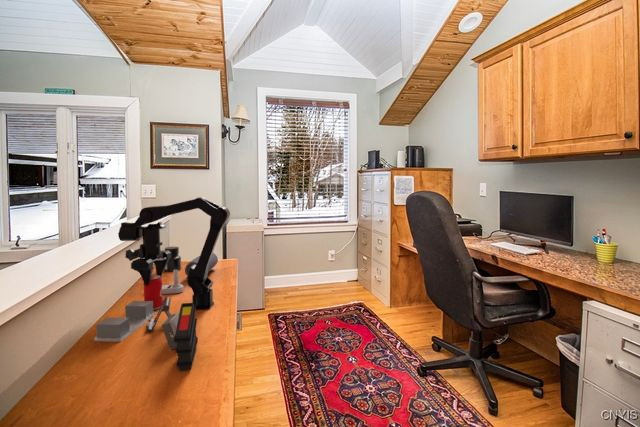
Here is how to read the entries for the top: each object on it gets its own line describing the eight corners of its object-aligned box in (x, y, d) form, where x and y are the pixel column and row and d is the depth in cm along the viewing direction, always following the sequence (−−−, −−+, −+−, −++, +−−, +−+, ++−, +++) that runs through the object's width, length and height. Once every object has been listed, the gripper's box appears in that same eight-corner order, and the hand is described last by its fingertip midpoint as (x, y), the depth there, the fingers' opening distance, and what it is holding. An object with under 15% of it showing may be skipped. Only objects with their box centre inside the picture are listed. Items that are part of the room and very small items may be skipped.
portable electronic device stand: (149, 322, 115) (148, 298, 114) (174, 319, 117) (174, 295, 117) (146, 333, 106) (145, 307, 106) (173, 329, 109) (173, 304, 108)
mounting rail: (155, 314, 121) (155, 311, 121) (121, 341, 100) (121, 338, 100) (133, 313, 121) (133, 311, 121) (94, 341, 100) (94, 338, 100)
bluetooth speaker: (202, 269, 184) (201, 250, 183) (218, 269, 184) (218, 251, 183) (183, 281, 162) (183, 260, 161) (202, 281, 161) (202, 261, 160)
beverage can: (165, 304, 131) (164, 274, 129) (158, 310, 124) (157, 279, 123) (149, 304, 130) (148, 274, 129) (141, 311, 124) (140, 279, 123)
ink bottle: (166, 267, 186) (165, 246, 185) (182, 267, 188) (182, 245, 187) (161, 272, 177) (160, 249, 175) (179, 271, 178) (178, 249, 177)
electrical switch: (182, 351, 95) (178, 319, 94) (164, 353, 95) (159, 321, 94) (193, 336, 105) (189, 307, 104) (176, 338, 104) (172, 309, 103)
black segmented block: (199, 338, 99) (195, 301, 92) (194, 380, 88) (189, 341, 81) (185, 339, 98) (180, 302, 91) (178, 382, 87) (172, 343, 80)
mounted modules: (153, 311, 121) (152, 301, 120) (120, 337, 101) (119, 324, 101) (133, 311, 121) (133, 300, 120) (96, 337, 101) (96, 324, 101)
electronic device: (147, 270, 146) (183, 268, 148) (149, 292, 147) (185, 289, 149) (142, 273, 141) (180, 271, 143) (144, 296, 142) (181, 293, 144)
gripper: (142, 236, 134) (144, 274, 136) (114, 245, 116) (116, 289, 117) (170, 236, 134) (172, 275, 136) (146, 245, 116) (148, 289, 117)
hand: (153, 281), depth 126 cm, fingers open, 9 cm apart
